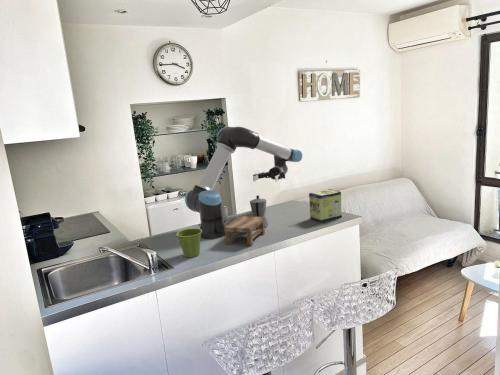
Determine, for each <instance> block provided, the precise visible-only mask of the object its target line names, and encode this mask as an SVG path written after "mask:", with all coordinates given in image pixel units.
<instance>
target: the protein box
mask: <svg viewBox="0 0 500 375" xmlns="http://www.w3.org/2000/svg"><path fill="white" fill-rule="evenodd" d="M308 198H309V216H310V217H309V218H310V220H313V221H315V222H318V223H326V222H329V221H334V220H337V219H341V218H342V217H343V216H342V215H343V214H342V213H343V212H342V211H343V210H342V191H339V190H334V189H330V188H328V189H324V190H318V191H315V192H314V191H313V192H310V193H308Z"/></svg>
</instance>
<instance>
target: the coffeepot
mask: <svg viewBox="0 0 500 375" xmlns="http://www.w3.org/2000/svg"><path fill="white" fill-rule="evenodd" d="M249 205H250V209H251V213H252V217H264V220H265V221H264V226H265V229H266V228H268V226H269V224H268V220H267V216H266V209H267V199H265V198H260V196H259V195H256V196H255V198H254V199H251V200H249ZM259 229H260V225H259V226H258V227H256V228H255V229H254V230H259Z"/></svg>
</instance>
